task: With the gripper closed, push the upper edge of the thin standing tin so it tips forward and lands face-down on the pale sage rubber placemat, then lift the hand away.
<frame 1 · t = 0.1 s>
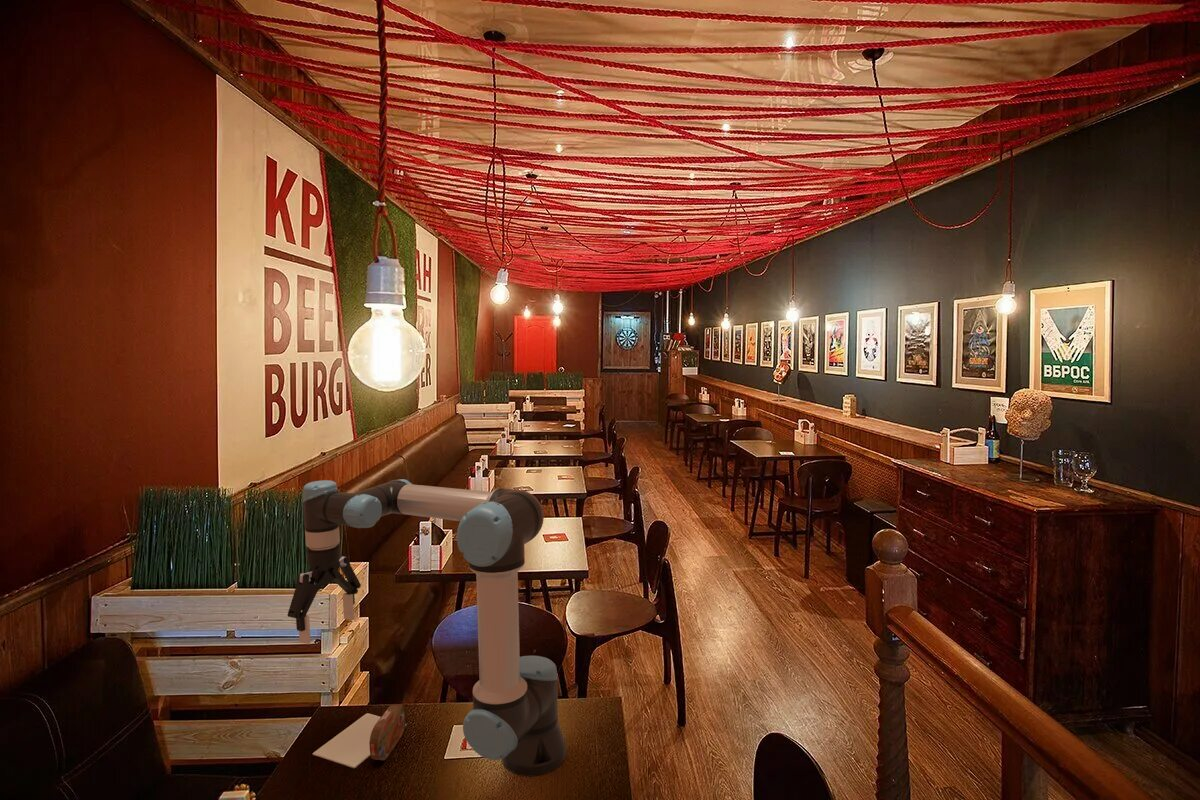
hand: (327, 630, 159), 28 cm above the table, fingers open, 13 cm apart
tin: (388, 747, 158), on the table, touching placemat
placemat: (361, 739, 161), on the table
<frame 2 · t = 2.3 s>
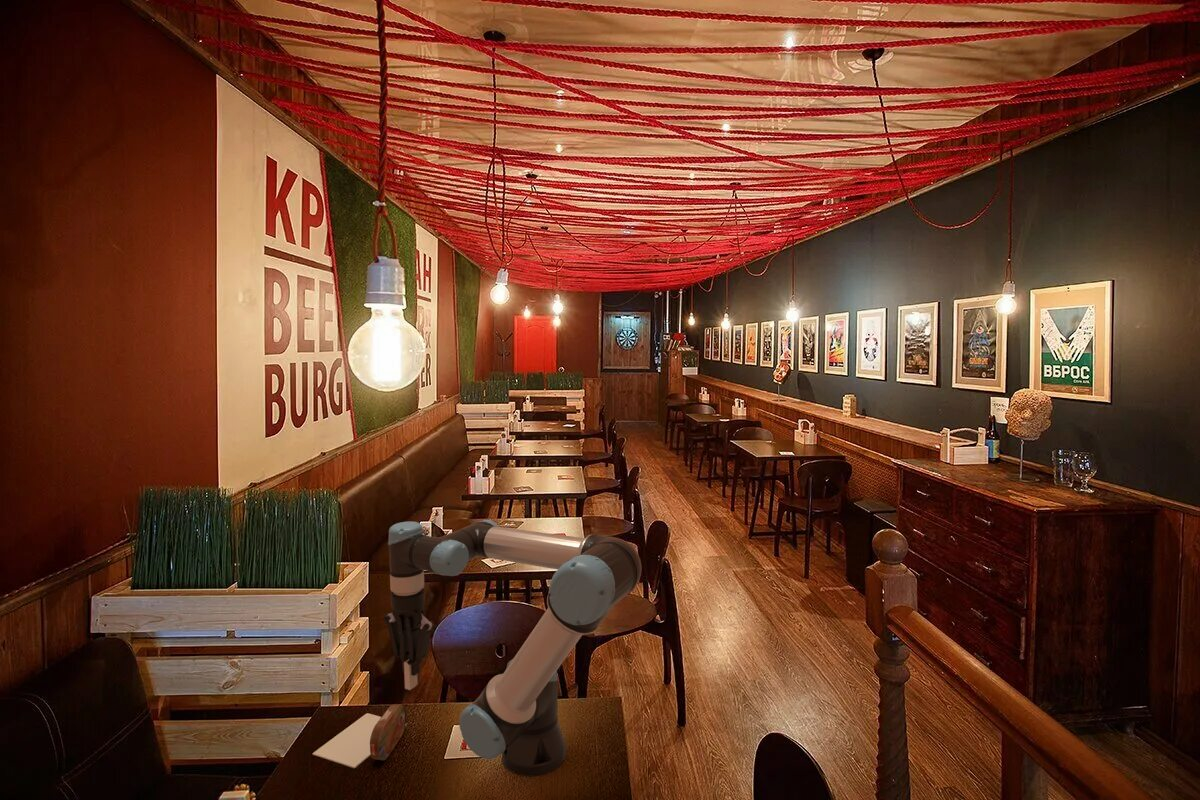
hand: (411, 686, 153), 17 cm above the table, fingers closed
nothing on the table moved.
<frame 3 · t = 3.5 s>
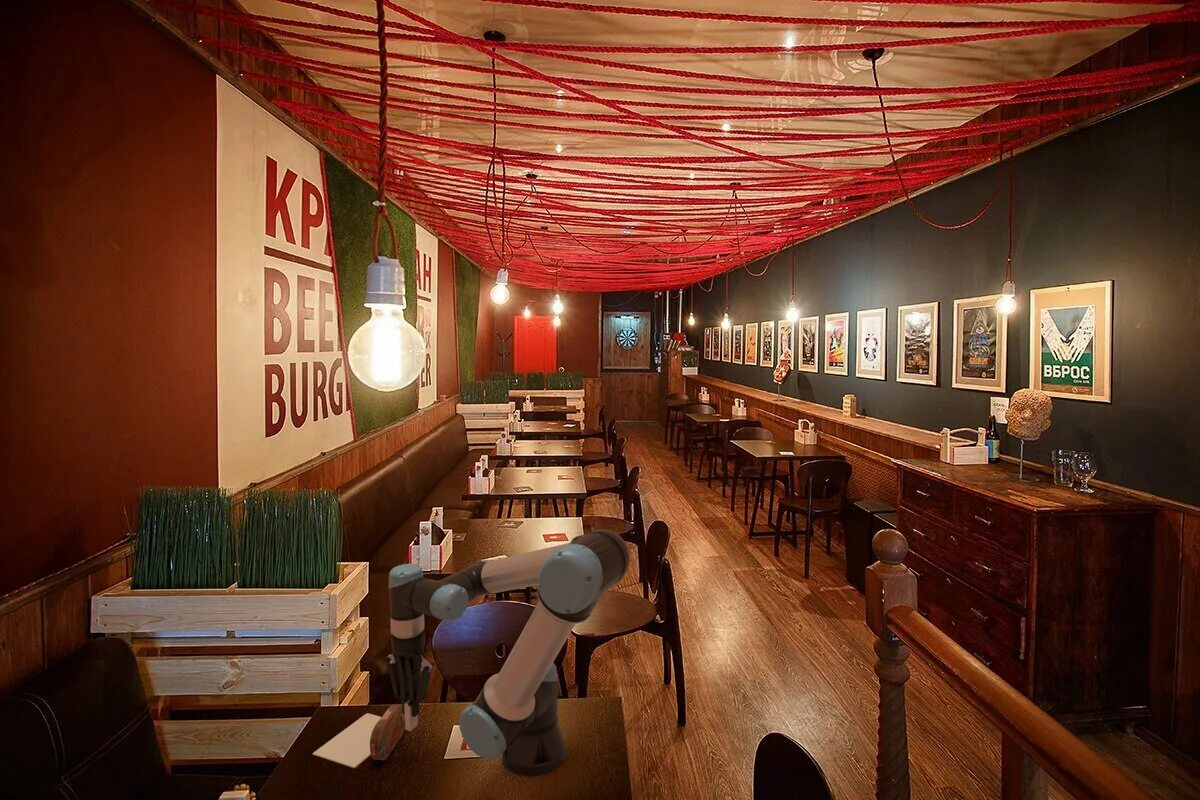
hand: (411, 727, 154), 7 cm above the table, fingers closed
nothing on the table moved.
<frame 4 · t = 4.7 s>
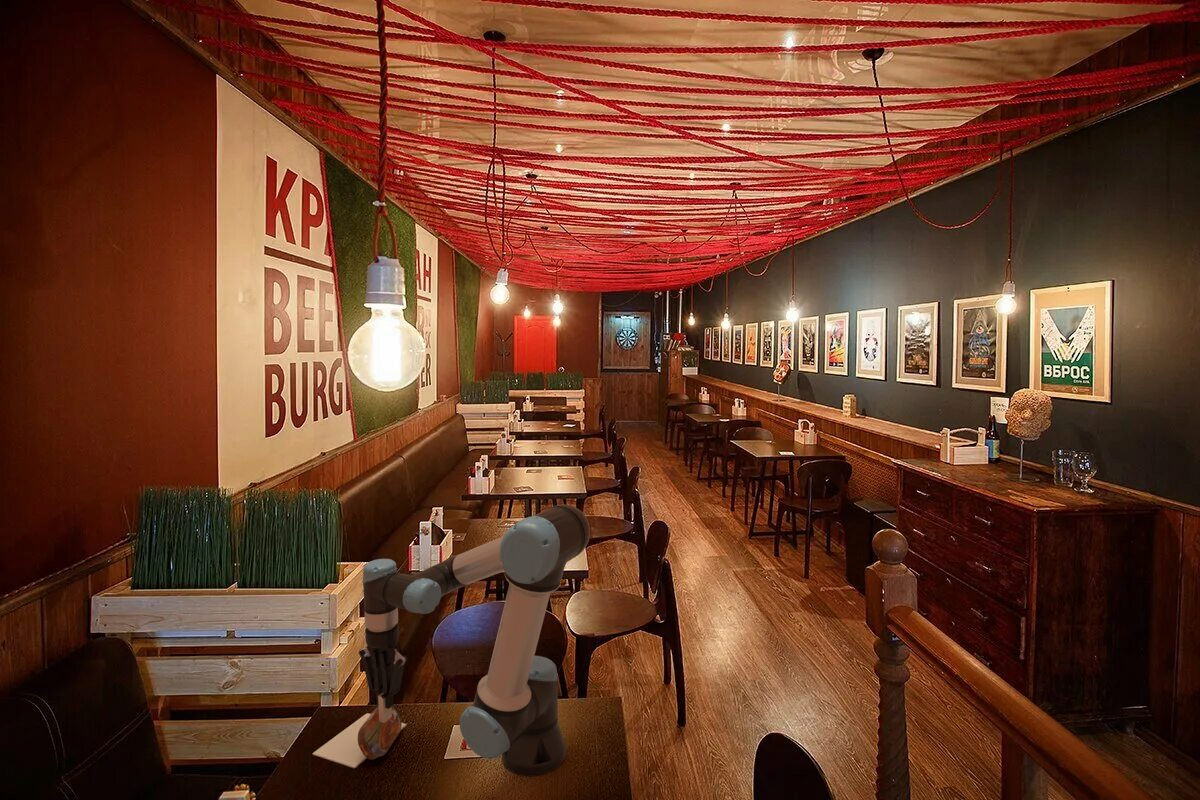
hand: (385, 719, 157), 7 cm above the table, fingers closed
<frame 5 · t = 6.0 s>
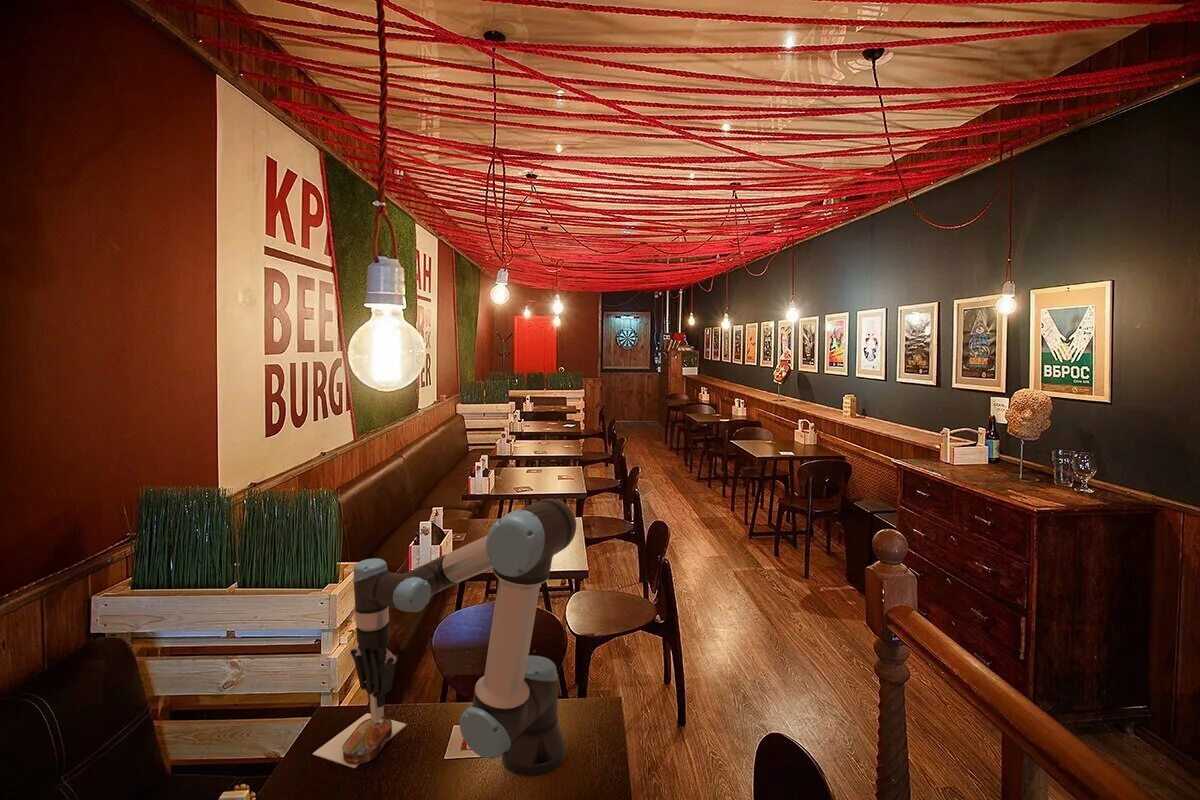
hand: (377, 717, 158), 7 cm above the table, fingers closed
tin: (385, 742, 158), point 1 cm above the table, touching placemat
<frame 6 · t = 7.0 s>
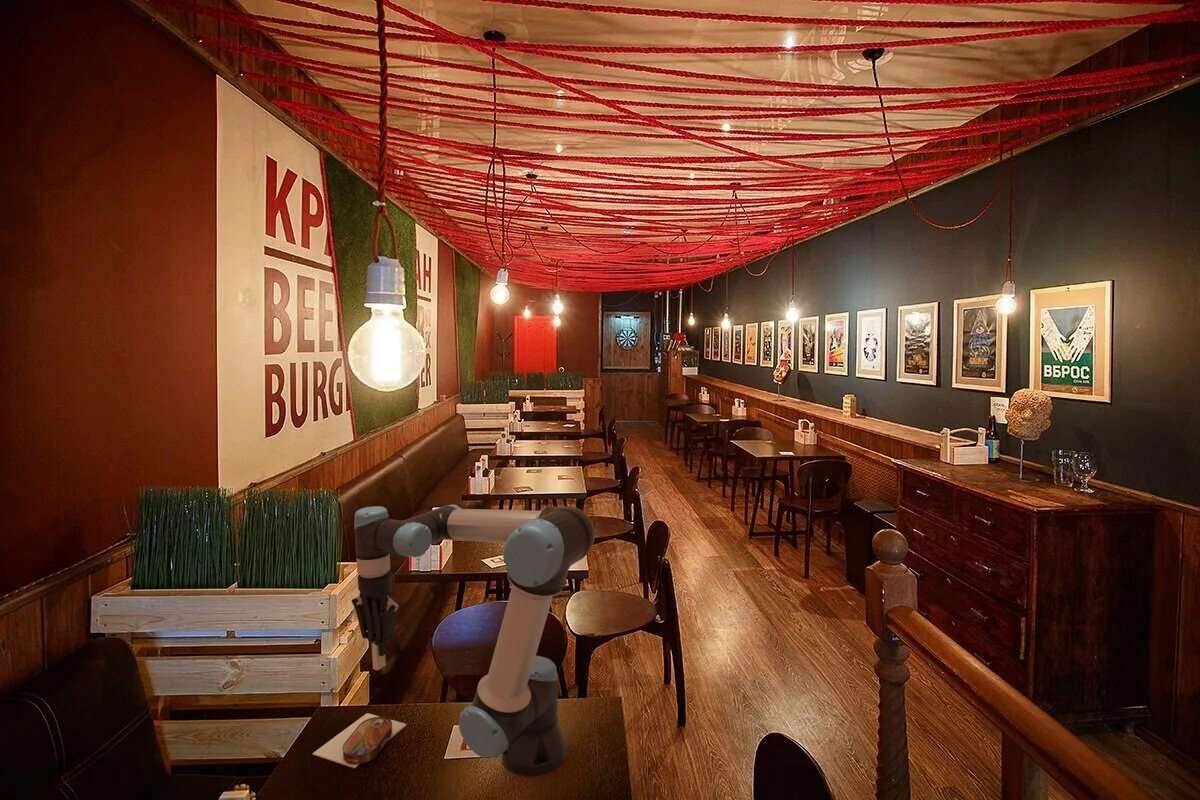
hand: (379, 667, 158), 20 cm above the table, fingers closed
nothing on the table moved.
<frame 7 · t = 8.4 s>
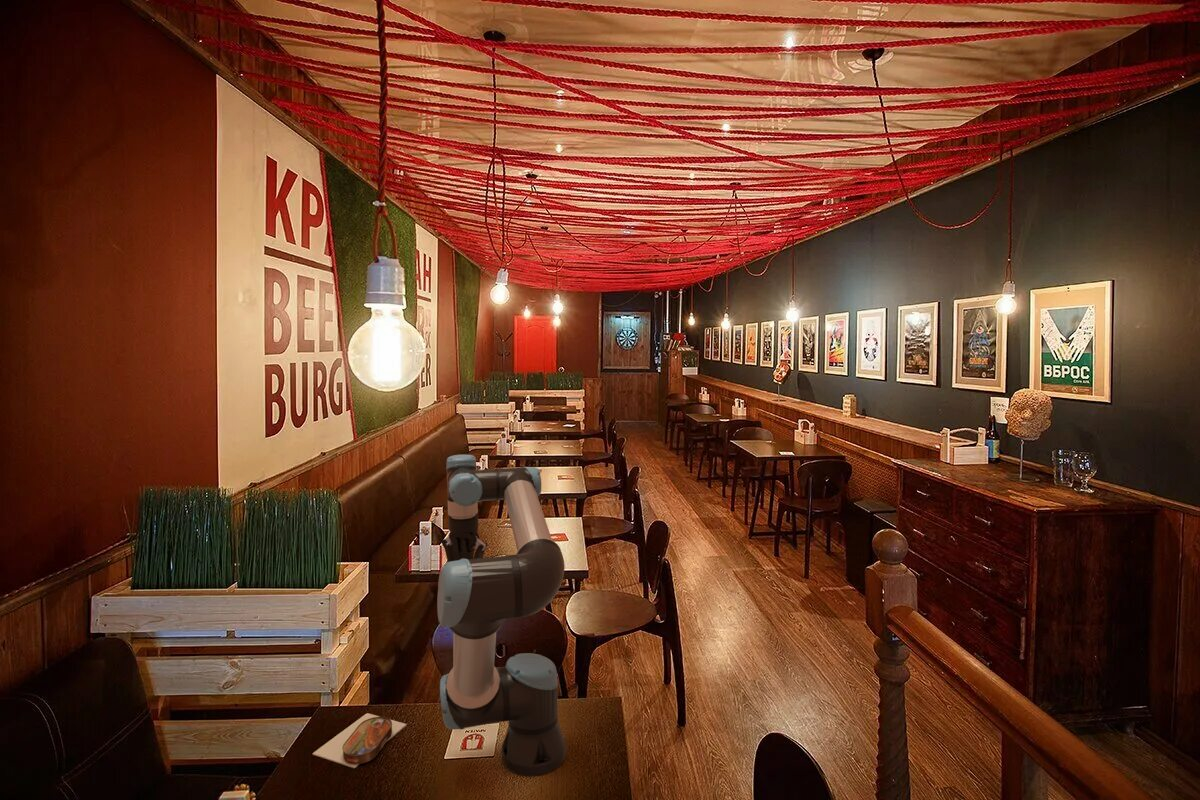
hand: (466, 603, 171), 29 cm above the table, fingers closed
nothing on the table moved.
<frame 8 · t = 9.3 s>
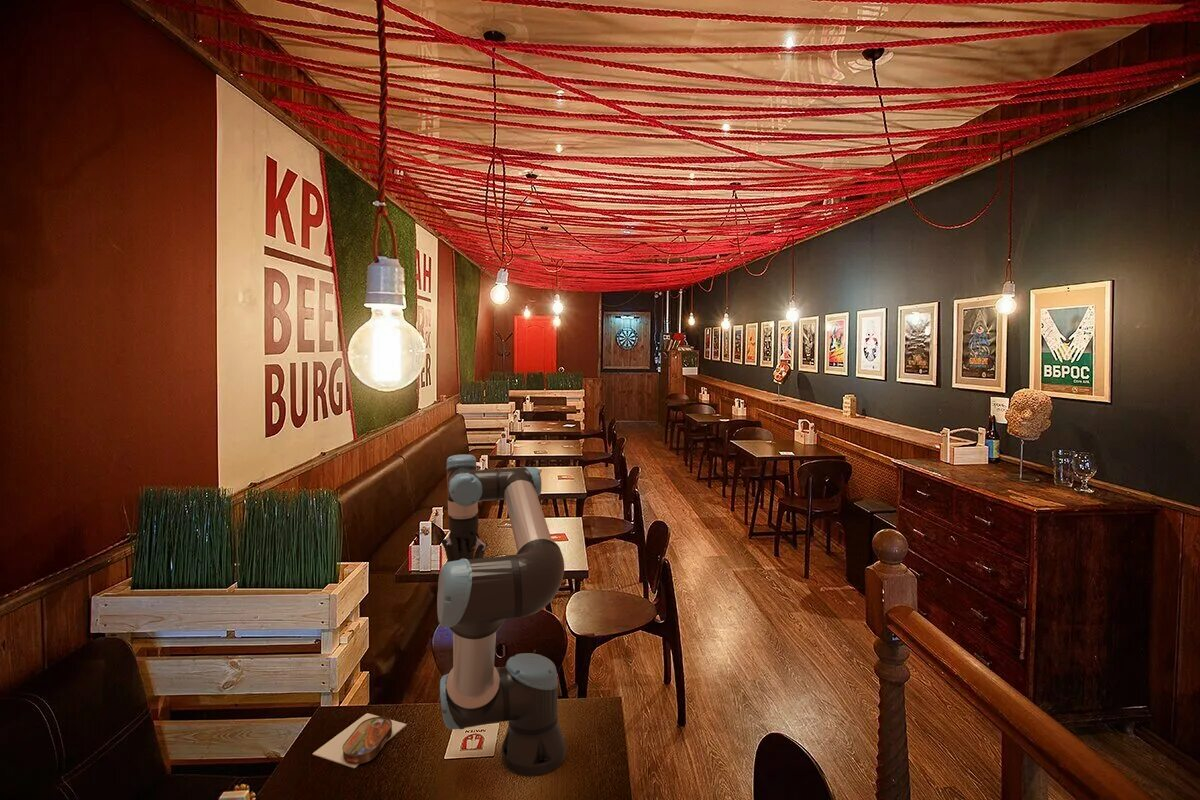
hand: (466, 603, 171), 29 cm above the table, fingers closed
nothing on the table moved.
at the end: tin tilted 85°; tin touching placemat; tin inside the target area (3.8 cm from its centre), point 1.3 cm above the table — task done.
